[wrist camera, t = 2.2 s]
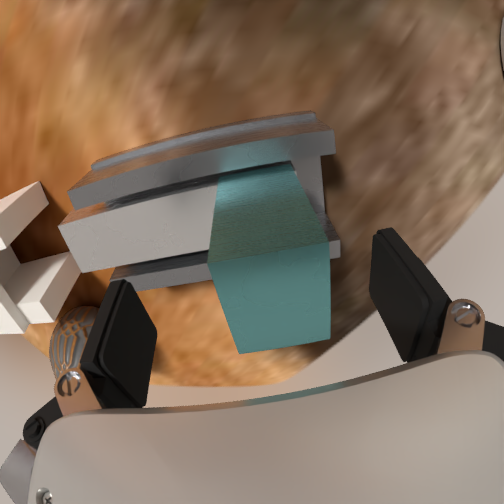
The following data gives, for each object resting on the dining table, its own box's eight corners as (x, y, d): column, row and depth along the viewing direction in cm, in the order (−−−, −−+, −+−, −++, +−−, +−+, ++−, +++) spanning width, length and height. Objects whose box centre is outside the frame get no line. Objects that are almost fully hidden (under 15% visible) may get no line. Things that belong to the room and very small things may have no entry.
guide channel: (311, 110, 16) (333, 123, 13) (322, 223, 21) (340, 261, 17) (96, 160, 17) (65, 186, 14) (136, 257, 22) (119, 297, 18)
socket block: (39, 180, 17) (-17, 229, 12) (82, 270, 22) (49, 332, 16) (-21, 211, 18) (-66, 255, 12) (19, 283, 23) (-13, 334, 17)
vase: (55, 295, 24) (18, 368, 17) (114, 292, 24) (82, 376, 17) (84, 342, 28) (61, 411, 21) (139, 343, 28) (122, 420, 20)
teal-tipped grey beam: (285, 147, 17) (337, 240, 8) (294, 213, 19) (336, 337, 11) (75, 198, 17) (-8, 299, 9) (99, 251, 20) (43, 363, 12)
